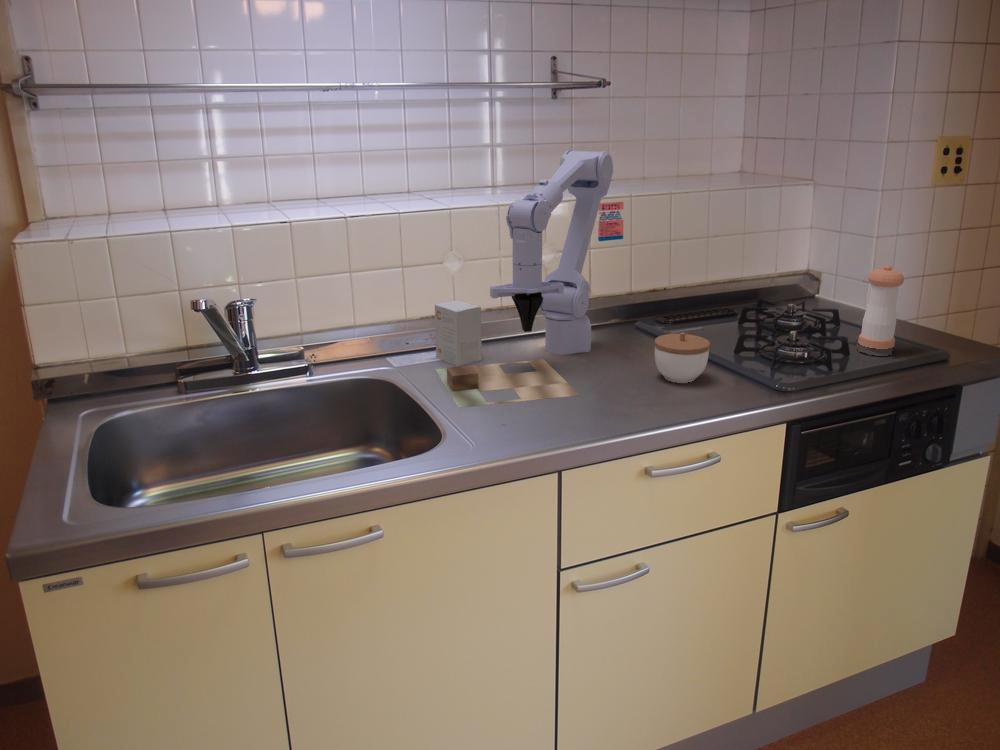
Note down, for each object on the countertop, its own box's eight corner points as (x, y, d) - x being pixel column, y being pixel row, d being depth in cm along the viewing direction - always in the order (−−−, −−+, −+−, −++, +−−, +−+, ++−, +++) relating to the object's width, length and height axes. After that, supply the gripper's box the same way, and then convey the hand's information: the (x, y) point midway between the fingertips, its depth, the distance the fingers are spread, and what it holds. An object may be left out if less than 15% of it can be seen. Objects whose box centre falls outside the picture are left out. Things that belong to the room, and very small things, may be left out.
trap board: (543, 366, 171) (543, 359, 170) (579, 402, 151) (580, 395, 150) (435, 376, 165) (434, 369, 165) (458, 415, 145) (458, 407, 145)
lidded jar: (717, 377, 164) (721, 332, 161) (689, 391, 156) (692, 344, 153) (670, 366, 171) (673, 322, 168) (642, 378, 163) (644, 333, 160)
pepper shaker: (898, 357, 176) (913, 269, 169) (864, 357, 176) (878, 269, 169) (884, 347, 183) (897, 262, 176) (851, 347, 183) (863, 262, 176)
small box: (482, 366, 171) (481, 306, 167) (458, 373, 167) (456, 311, 163) (459, 357, 177) (458, 299, 172) (435, 363, 173) (433, 303, 169)
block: (472, 379, 159) (472, 365, 158) (478, 388, 154) (478, 373, 153) (447, 382, 157) (446, 367, 156) (452, 391, 153) (452, 375, 152)
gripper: (496, 269, 153) (496, 338, 157) (569, 264, 156) (568, 333, 161) (487, 262, 159) (487, 329, 164) (557, 258, 163) (556, 323, 167)
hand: (526, 330), depth 163 cm, fingers closed
